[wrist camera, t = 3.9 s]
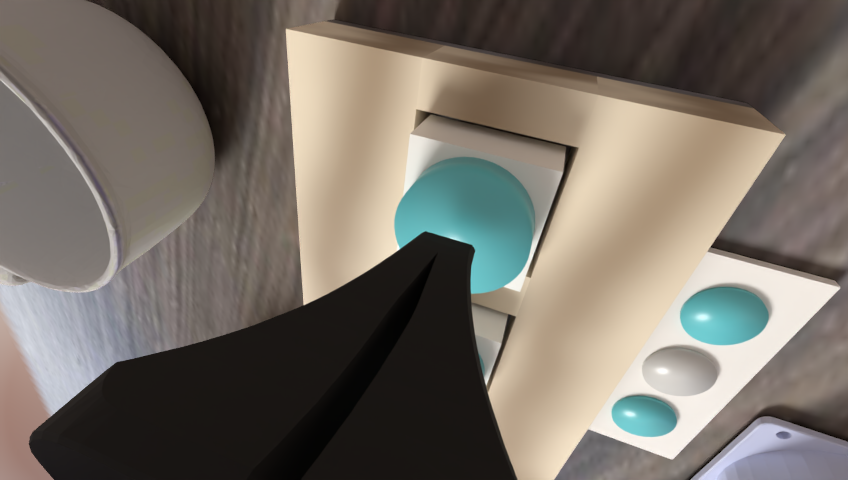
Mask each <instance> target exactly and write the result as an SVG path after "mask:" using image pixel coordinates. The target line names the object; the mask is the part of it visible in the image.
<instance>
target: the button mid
mask: <svg viewBox="0 0 848 480" xmlns="http://www.w3.org/2000/svg"><path fill="white" fill-rule="evenodd" d="M471 303H472V315H473V323H474V330H475V337H476V343H477V349H478V354H479V359H480V363H481V368H482V372H483V376H484V380H485V384H486V385H487V383H488V380H489V377H490V374H491V371H492V369H493V366H494V363H495V360H496V358H497V355H498V352H499V349H500V346H501V344H502V339H503V335H504V331H505V326H506V322H507V317H508V314H507V313H503V312H500V311H497V310H494V309H491V308H488V307H485V306H482V305H479V304H476V303H473V302H471Z"/></svg>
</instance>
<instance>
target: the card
mask: <svg viewBox="0 0 848 480" xmlns="http://www.w3.org/2000/svg"><path fill="white" fill-rule="evenodd" d="M840 288H841V287H840V286H839V285H838V284H837V282H836V281H835V280H831V279H827V278H823V277H820V276H816V275H812V274H808V273H805V272H801V271H797V270H794V269H790V268H786V267H782V266H779V265H775V264H771V263H767V262H764V261H760V260H756V259H752V258H749V257H745V256H741V255H737V254H734V253H730V252H726V251H722V250H719V249H715V248H711V247H710V248H709V250H708V251H707V253H706V254H705V256H704V257H703V259H702V260H701V261H700V263H699V264H698V266H697V267H696V269H695V270H694V272H693V273H692V275H691V276H690V278H689V279H688V281H687V282H686V284H685V285H684V287H683V288H682V290H681V291H680V293H679V294H678V296H677V297H676V299H675V300H674V302H673V303H672V305H671V306H670V308H669V309H668V311H667V312H666V314H665V315H664V316H663V318H662V319H661V321H660V322H659V324H658V325H657V327H656V328H655V330H654V331H653V333H652V334H651V336H650V337H649V339H648V340H647V342H646V343H645V345H644V346H643V348H642V349H641V351H640V352H639V354H638V355H637V357H636V358H635V360H634V361H633V363H632V364H631V366H630V367H629V369H628V370H627V371H626V373H625V374H624V376H623V377H622V379H621V380H620V382H619V383H618V385H617V386H616V388H615V389H614V391H613V392H612V394H611V395H610V397H609V398H608V400H607V401H606V403H605V404H604V406H603V407H602V409H601V410H600V412H599V413H598V415H597V416H596V418H595V419H594V421H593V422H592V424H591V425H590V427H589V428H588V429H589V430H592V431H595V432H598V433H600V434H603V435H606V436H609V437H611V438H614V439H617V440H620V441H622V442H625V443H628V444H631V445H633V446H636V447H639V448H642V449H644V450H647V451H650V452H653V453H655V454H658V455H661V456H664V457H666V458H669V459H673V458H674V457H675V456H676V455H677V454H678V453H679V452H680V451H681V450H682V449H683V448H684V447H685V446H686V445H687V444H688V443H689V442H690V441H691V440H692V439H693V438H694V437H695V436H696V435H697V434H698V433H699V432H700V431H701V430H702V429H703V428H704V427H705V426H706V425H707V424H708V423H709V422H710V421H711V420H712V419H713V418H714V417H715V416H716V415H717V413H718V412H719V411H720V410H721V409H722V408H723V407H724V406H725V405H726V404H727V403H728V402H729V401H730V400H731V399H732V398H733V397H734V396H735V395H736V394H737V393H738V392H739V391H740V390H741V389H742V388H743V387H744V386H745V385H746V384H747V383H748V382H749V381H750V380H751V379H752V378H753V377H754V376H755V375H756V374H757V373H758V372H759V371H760V370H761V369H762V368H763V366H764V365H765V364H766V363H767V362H768V361H769V360H770V359H771V358H772V357H773V356H774V355H775V354H776V353H777V352H778V351H779V350H780V349H781V348H782V347H783V346H784V345H785V344H786V343H787V342H788V341H789V340H790V339H791V338H792V337H793V336H794V335H795V334H796V333H797V332H798V331H799V330H800V329H801V328H802V327H803V326H804V325H805V324H806V323H807V322H808V320H809V319H810V318H811V317H812V316H813V315H814V314H815V313H816V312H817V311H818V310H819V309H820V308H821V307H822V306H823V305H824V304H825V303H826V302H827V301H828V300H829V299H830V298H831V297H832V296H833V295H834V294H835V293H836V292H837V291H838V290H839V289H840Z"/></svg>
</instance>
